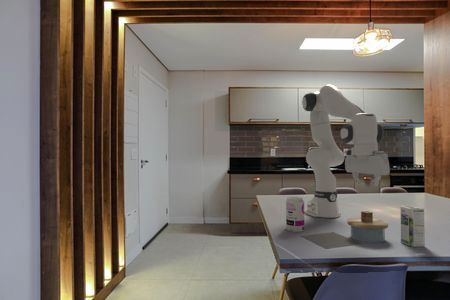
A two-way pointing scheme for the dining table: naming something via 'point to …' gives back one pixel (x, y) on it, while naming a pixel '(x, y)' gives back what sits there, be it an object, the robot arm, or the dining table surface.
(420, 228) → the syrup box
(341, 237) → the charcoal mat
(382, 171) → the robot arm
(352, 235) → the slate bowl
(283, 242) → the dining table surface
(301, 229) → the supplement can
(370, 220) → the birch lid
